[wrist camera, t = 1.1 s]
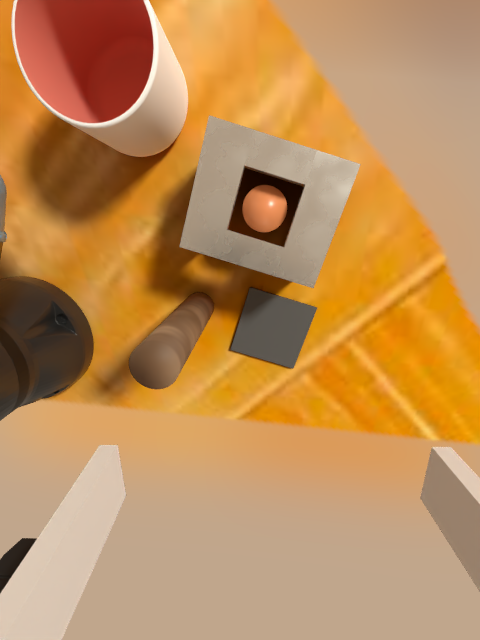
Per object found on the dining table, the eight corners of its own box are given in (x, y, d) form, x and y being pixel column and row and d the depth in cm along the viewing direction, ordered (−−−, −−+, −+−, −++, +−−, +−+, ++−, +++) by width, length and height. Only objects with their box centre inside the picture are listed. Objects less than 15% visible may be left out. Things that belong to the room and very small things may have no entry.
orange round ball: (240, 225, 30) (237, 224, 26) (251, 186, 29) (249, 178, 25) (275, 236, 30) (278, 237, 26) (288, 198, 29) (293, 192, 25)
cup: (211, 90, 28) (187, 20, 19) (156, 181, 31) (111, 159, 22) (123, 14, 27) (50, -103, 18) (74, 116, 30) (-13, 62, 20)
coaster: (230, 348, 36) (230, 349, 36) (250, 287, 34) (250, 287, 33) (292, 367, 36) (293, 368, 36) (316, 307, 34) (317, 308, 34)
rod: (182, 315, 35) (124, 381, 20) (189, 288, 34) (133, 336, 19) (209, 323, 35) (173, 395, 20) (217, 297, 34) (184, 351, 19)
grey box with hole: (197, 242, 33) (179, 246, 25) (221, 144, 30) (209, 115, 22) (300, 274, 33) (313, 288, 25) (334, 180, 30) (360, 164, 22)
